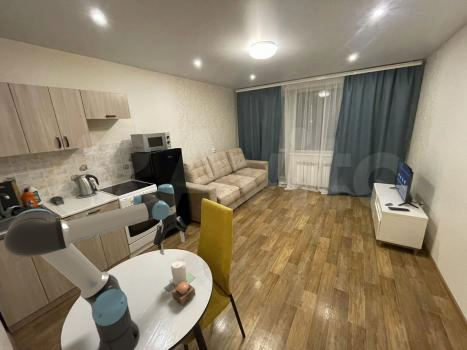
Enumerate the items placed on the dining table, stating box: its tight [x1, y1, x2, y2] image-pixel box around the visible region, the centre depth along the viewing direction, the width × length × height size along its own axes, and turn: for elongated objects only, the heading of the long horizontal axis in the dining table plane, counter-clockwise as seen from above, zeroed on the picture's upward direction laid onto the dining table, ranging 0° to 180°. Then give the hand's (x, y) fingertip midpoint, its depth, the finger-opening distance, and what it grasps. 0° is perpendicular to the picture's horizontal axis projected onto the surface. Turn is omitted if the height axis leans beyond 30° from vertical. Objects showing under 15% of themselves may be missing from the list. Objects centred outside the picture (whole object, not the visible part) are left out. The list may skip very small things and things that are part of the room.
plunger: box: [176, 282, 190, 296], centre depth 103 cm, size 6×6×6 cm
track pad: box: [163, 282, 176, 293], centre depth 110 cm, size 4×4×1 cm
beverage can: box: [170, 258, 188, 285], centre depth 113 cm, size 8×8×12 cm
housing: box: [171, 281, 196, 307], centre depth 103 cm, size 8×8×4 cm
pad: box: [169, 271, 197, 288], centre depth 115 cm, size 11×11×1 cm
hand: (173, 247), depth 108 cm, fingers open, 13 cm apart
